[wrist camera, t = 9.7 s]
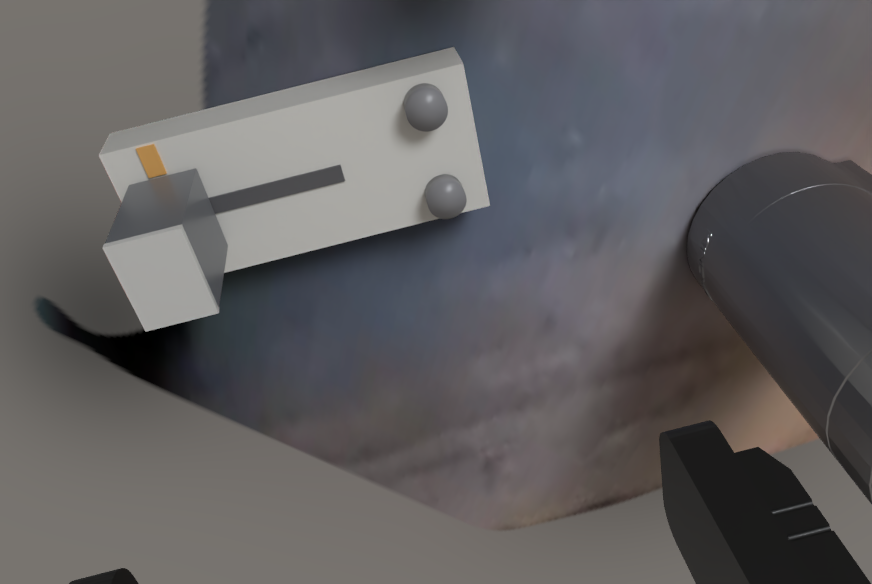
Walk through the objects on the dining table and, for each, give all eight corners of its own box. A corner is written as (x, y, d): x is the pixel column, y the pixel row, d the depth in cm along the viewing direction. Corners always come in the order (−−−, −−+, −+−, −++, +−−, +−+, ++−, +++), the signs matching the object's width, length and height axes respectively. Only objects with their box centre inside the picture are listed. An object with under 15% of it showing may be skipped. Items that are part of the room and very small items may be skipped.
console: (453, 46, 36) (467, 70, 34) (480, 183, 40) (494, 215, 37) (110, 133, 36) (93, 164, 33) (169, 261, 40) (159, 299, 37)
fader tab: (196, 167, 35) (181, 228, 30) (228, 245, 37) (218, 313, 33) (128, 184, 35) (102, 247, 30) (164, 262, 37) (145, 331, 32)
